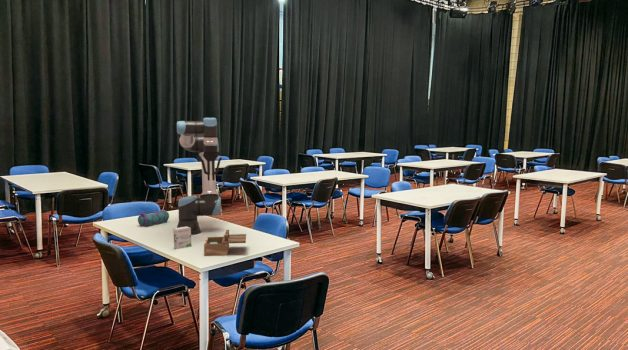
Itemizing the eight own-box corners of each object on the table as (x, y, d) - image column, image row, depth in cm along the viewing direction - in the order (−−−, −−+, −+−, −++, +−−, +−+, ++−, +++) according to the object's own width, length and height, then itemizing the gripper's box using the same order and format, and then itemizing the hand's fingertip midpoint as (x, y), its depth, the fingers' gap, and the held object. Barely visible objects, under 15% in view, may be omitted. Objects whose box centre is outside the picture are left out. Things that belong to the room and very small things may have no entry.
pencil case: (160, 221, 342) (160, 207, 341) (169, 222, 338) (169, 209, 337) (137, 226, 324) (136, 212, 323) (146, 228, 320) (145, 214, 319)
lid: (223, 236, 268) (223, 229, 268) (246, 235, 269) (246, 228, 269) (221, 243, 252) (221, 236, 251) (245, 242, 253) (245, 235, 253)
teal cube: (209, 249, 264) (209, 242, 264) (217, 248, 265) (216, 241, 265) (210, 251, 260) (210, 244, 260) (217, 250, 262) (217, 243, 261)
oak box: (207, 249, 267) (207, 237, 267) (229, 248, 269) (228, 236, 268) (204, 257, 252) (203, 244, 251) (227, 256, 253) (227, 243, 252)
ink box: (187, 246, 274) (187, 225, 273) (191, 247, 271) (191, 227, 269) (173, 248, 269) (173, 228, 267) (177, 250, 265) (176, 229, 264)
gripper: (197, 145, 266) (198, 187, 269) (221, 145, 268) (222, 186, 271) (199, 144, 274) (200, 185, 276) (222, 144, 275) (223, 185, 278)
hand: (211, 186), depth 274 cm, fingers closed
